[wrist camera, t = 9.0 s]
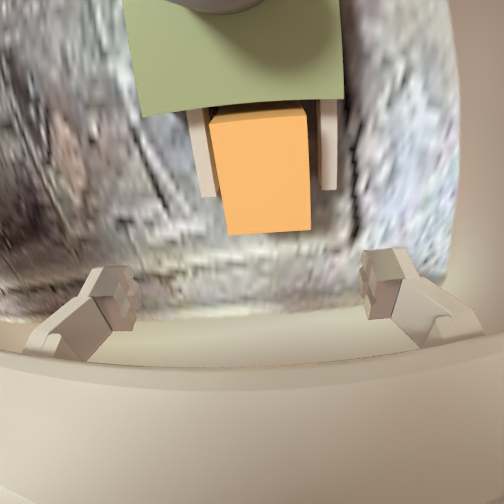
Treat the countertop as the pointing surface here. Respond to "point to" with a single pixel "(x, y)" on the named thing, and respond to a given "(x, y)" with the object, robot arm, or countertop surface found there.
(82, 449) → the robot arm
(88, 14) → the countertop surface
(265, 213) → the tall orange cuboid
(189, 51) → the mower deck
